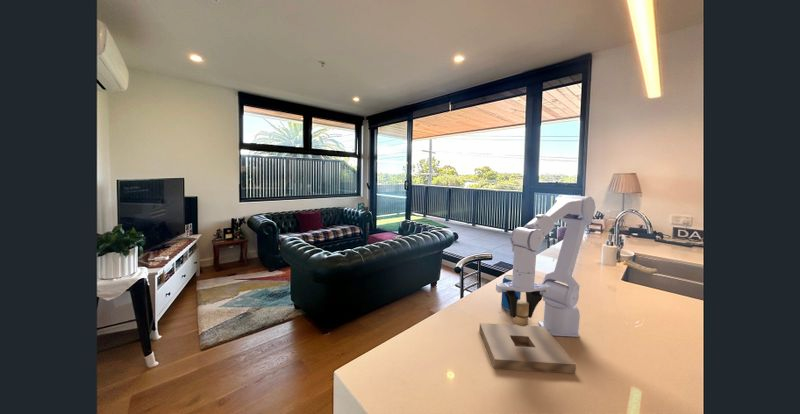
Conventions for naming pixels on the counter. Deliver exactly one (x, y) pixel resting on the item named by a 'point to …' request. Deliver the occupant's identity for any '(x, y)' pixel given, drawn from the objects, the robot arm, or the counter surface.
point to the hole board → (525, 348)
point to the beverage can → (504, 301)
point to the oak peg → (521, 313)
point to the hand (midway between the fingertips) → (520, 316)
